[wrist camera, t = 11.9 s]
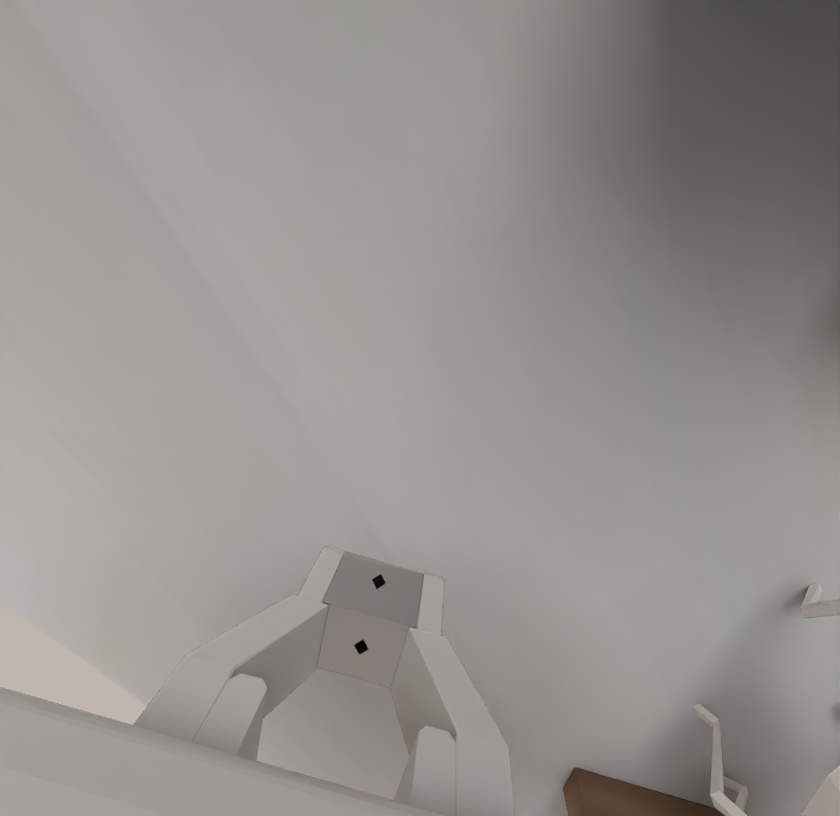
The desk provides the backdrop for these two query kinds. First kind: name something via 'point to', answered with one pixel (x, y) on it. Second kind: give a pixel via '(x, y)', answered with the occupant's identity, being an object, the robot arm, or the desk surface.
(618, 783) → the walnut bay
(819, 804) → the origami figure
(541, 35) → the desk surface
